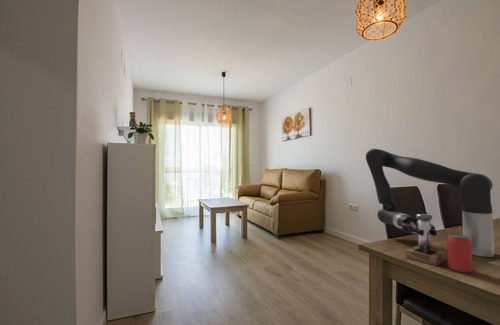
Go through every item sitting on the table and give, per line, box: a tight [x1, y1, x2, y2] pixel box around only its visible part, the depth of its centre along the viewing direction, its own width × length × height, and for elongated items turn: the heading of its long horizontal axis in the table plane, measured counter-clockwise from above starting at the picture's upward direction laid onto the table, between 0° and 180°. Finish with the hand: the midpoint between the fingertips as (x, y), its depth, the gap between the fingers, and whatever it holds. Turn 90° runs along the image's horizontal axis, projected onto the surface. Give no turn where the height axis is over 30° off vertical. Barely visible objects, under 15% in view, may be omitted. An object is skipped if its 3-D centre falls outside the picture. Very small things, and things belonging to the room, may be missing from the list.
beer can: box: [446, 233, 473, 274], centre depth 85 cm, size 7×7×12 cm
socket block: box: [405, 245, 447, 267], centre depth 95 cm, size 10×10×3 cm
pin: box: [415, 213, 433, 253], centre depth 96 cm, size 5×5×14 cm
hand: (428, 233), depth 93 cm, fingers closed on pin, 4 cm apart
